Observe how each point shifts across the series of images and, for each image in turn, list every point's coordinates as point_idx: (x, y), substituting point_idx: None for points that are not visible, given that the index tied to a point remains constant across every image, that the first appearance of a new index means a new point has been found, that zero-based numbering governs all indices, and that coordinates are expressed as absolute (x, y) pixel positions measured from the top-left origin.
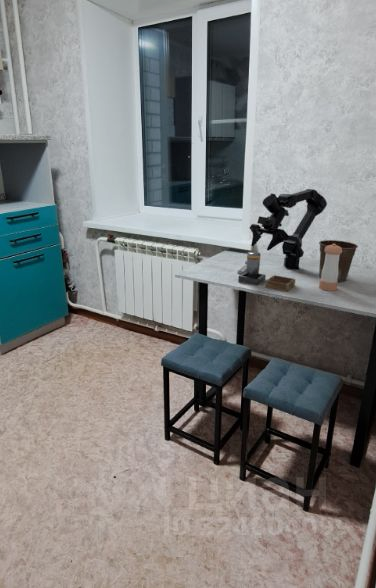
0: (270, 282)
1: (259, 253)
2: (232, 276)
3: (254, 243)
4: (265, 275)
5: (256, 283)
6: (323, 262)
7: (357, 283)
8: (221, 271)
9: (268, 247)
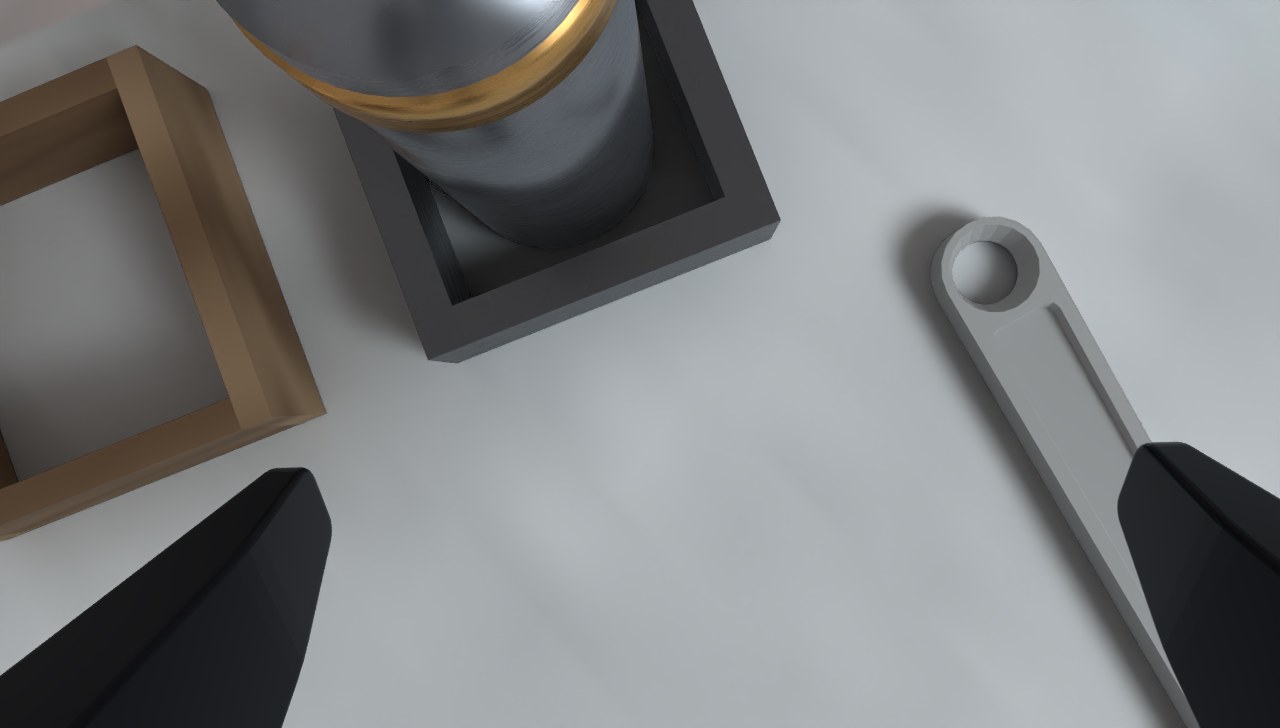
0: (71, 84)
1: (262, 1)
2: (916, 39)
3: (1198, 622)
4: (429, 351)
5: None
6: None
7: None
8: (1268, 74)
9: (213, 517)
